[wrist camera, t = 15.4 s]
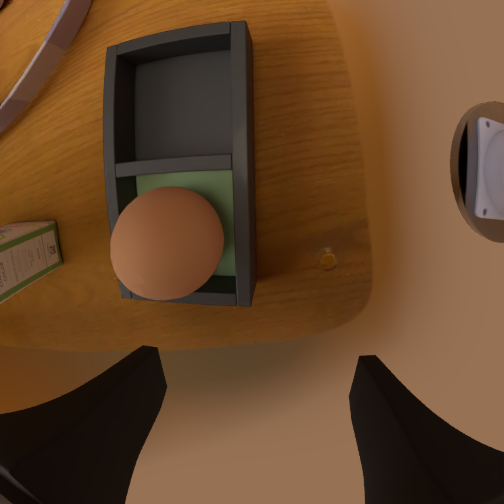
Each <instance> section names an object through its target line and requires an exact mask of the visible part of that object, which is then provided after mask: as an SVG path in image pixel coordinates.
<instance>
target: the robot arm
mask: <svg viewBox="0 0 504 504" xmlns="http://www.w3.org/2000/svg"><path fill="white" fill-rule="evenodd" d="M486 122H487V125H488V126H486ZM477 129H478V168H477V187H476V199H475V209H474V213H475V215H476V216H477V217H480V218H489V219H498V220H504V124H502V123H499V122H496V121H494V120H491V119H488V118H485V117H479V118H478V120H477ZM484 209H485V212H484V214H483V210H484ZM166 389H167V384H166V380H165V376H164V373H163V368H162V365H161V360H160V356H159V352H158V348H157V347H151V346H144V345H143V346H141V347H140V348H138V349H136V350H135V351H133V352H132V353H131V354H129V355H128V356H126V357H125V358H123V359H122V360H121V361H119V362H118V363H116V364H115V365H113V366H112V367H110V368H109V369H107V370H106V371H105V372H103V373H102V374H100V375H98V376H97V377H95V378H93V379H92V380H90V381H88V382H87V383H85V384H84V385H82V386H80V387H79V388H77V389H75V390H73V391H71V392H69V393H67V394H65V395H62V396H61V397H58V398H56V399H53V400H51V401H48V402H45V403H43V404H40V405H37V406H35V407H31V408H27V409H24V410H20V411H15V412H11V413H5V414H0V504H125V500H126V496H127V492H128V488H129V485H130V481H131V477H132V474H133V471H134V467H135V465H136V461H137V459H138V456H139V454H140V451H141V449H142V447H143V445H144V443H145V441H146V438H147V436H148V435H149V432H150V430H151V428H152V426H153V424H154V422H155V420H156V418H157V415H158V413H159V411H160V408H161V406H162V403H163V400H164V396H165V393H166ZM349 401H350V411H351V420H352V424H353V429H354V433H355V437H356V442H357V446H358V451H359V455H360V460H361V464H362V470H363V476H364V489H365V504H504V452H502V451H499V450H496V449H494V448H492V447H489V446H487V445H485V444H482V443H480V442H478V441H476V440H474V439H472V438H471V437H469V436H467V435H465V434H464V433H462V432H460V431H459V430H457V429H455V428H454V427H452V426H451V425H449V424H448V423H447V422H445V421H444V420H443V419H441V418H440V417H439V416H437V415H436V414H435V413H433V412H432V411H431V410H430V409H429V408H428V407H426V406H425V405H424V404H423V403H422V402H421V401H420V400H419V399H417V398H416V397H415V396H414V395H413V394H412V393H411V392H410V391H409V390H408V389H407V388H406V387H405V386H404V385H403V384H402V383H401V382H400V381H399V380H398V379H397V378H396V377H395V375H394V374H392V372H391V371H390V370H389V369H388V368H387V367H386V366H385V365H384V364H383V363H382V361H381V360H380V359H379V358H378V357H377V356H376V355H367V356H359V359H358V363H357V367H356V371H355V375H354V379H353V383H352V386H351V390H350V394H349Z"/></svg>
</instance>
